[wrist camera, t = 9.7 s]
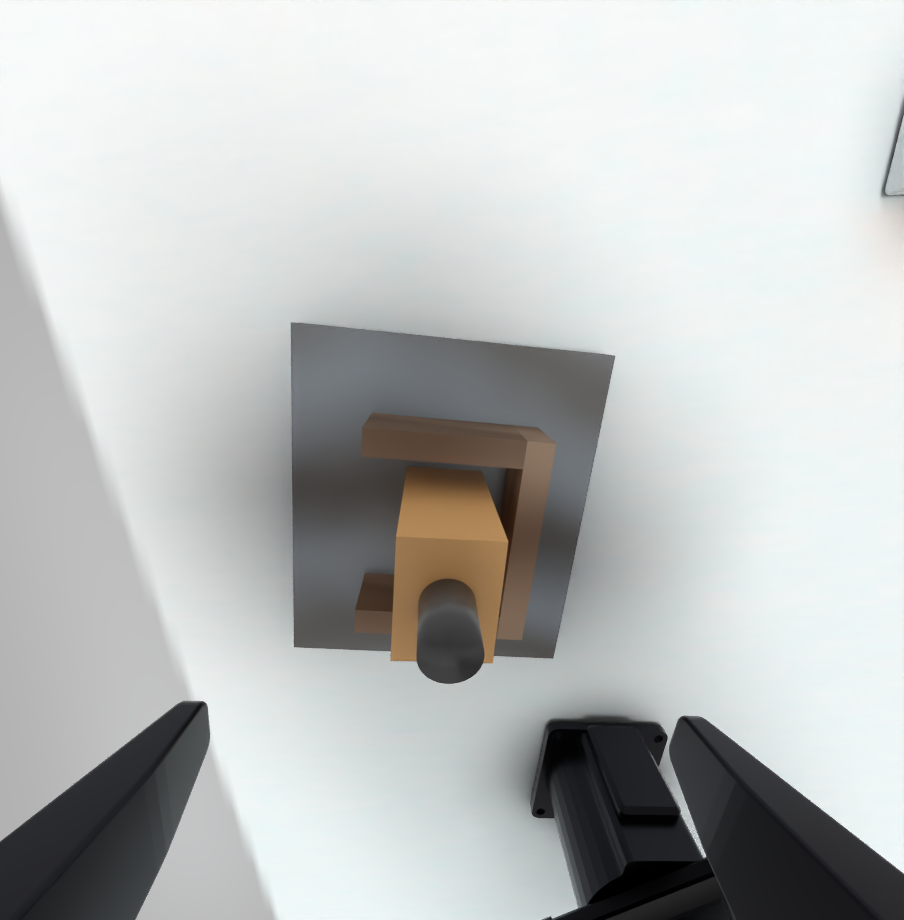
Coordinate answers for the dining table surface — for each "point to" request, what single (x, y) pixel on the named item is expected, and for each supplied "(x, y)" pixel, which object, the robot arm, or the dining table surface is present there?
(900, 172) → the skincare box
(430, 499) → the connector plug
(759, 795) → the robot arm
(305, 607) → the end holder
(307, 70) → the dining table surface
